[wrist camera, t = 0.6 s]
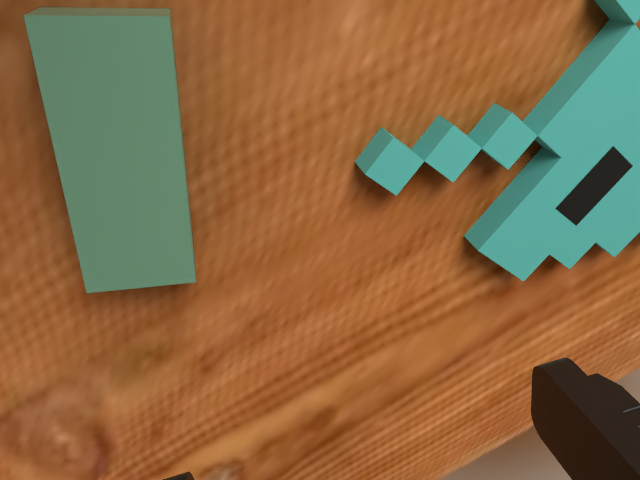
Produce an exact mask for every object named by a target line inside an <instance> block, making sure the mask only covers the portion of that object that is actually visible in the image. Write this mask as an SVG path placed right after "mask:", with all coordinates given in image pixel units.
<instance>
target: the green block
mask: <svg viewBox="0 0 640 480" xmlns="http://www.w3.org/2000/svg"><path fill="white" fill-rule="evenodd" d="M23 16H24V20H25V25H26V29H27V34H28V38H29V42H30V47H31V51H32V56H33V60H34V64H35V69H36V73H37V78H38V82H39V86H40V91H41V95H42V100H43V104H44V108H45V113H46V117H47V122H48V126H49V130H50V135H51V139H52V144H53V148H54V152H55V157H56V161H57V166H58V170H59V174H60V179H61V183H62V188H63V192H64V196H65V201H66V205H67V210H68V214H69V218H70V223H71V227H72V232H73V236H74V240H75V245H76V249H77V254H78V258H79V262H80V267H81V271H82V276H83V280H84V284H85V289H86V293H95V292H105V291H115V290H125V289H135V288H145V287H155V286H165V285H174V284H184V283H194V282H196V271H195V254H194V244H193V233H192V223H191V213H190V203H189V193H188V183H187V172H186V162H185V152H184V142H183V132H182V121H181V111H180V101H179V91H178V81H177V71H176V60H175V50H174V40H173V30H172V20H171V9H170V8H75V7H39V8H37V9H35V10H33V11H31V12H29V13H27V14H25V15H23Z"/></svg>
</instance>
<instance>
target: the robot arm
mask: <svg viewBox="0 0 640 480" xmlns="http://www.w3.org/2000/svg"><path fill="white" fill-rule="evenodd" d="M531 416H532V420H533V423H534V426H535V428H536V430H537V433H538V434H539V436H540V438H541V439H542V440H543V442H544V443H545V445H546V446H547V447H548V448H549V450H550V451H551V452H552V454H553V455H554V456H555V458H556V459H557V460H558V462H559V463H560V464H561V465H562V467H563V468H564V469H565V471H566V472H567V473H568V475H569V476H570V477H571V479H572V480H640V403H639V402H638V401H637V400H636V399H635V398H633V397H632V396H631V395H630V394H629V393H628V392H627V391H626V390H625V389H624V388H623V387H622V386H620V385H618V384H616V383H615V382H613V381H611V380H609V379H607V378H605V377H603V376H601V375H599V374H598V373H596V374H593V375H590V376H587V375H586V374H585V373H584V372H583V371H582V370H581V369H580V368H579V367H578V366H577V365H576V364H575V363H574V362H573V361H572V360H570V359H568V358H562V359H558V360H555V361H552V362H549V363H545V364H542V365H539V366H536V367H534V369H533V373H532V398H531ZM163 480H194V478H193V476H192V474H191V473H190V472H186V473H183V474H180V475H176V476H173V477H170V478H167V479H163Z"/></svg>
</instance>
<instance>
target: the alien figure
mask: <svg viewBox="0 0 640 480" xmlns="http://www.w3.org/2000/svg"><path fill="white" fill-rule="evenodd" d="M594 1H595V2H596V3H597V4H598V6H599V7H600V8H601V9H602V11H603V12H604V13H605V14H606V15H607V17H608V18H609V19H610V20H609V21H608V22H607V23H606V24H605V25H604V27H603V28H602V29H601V30H600V31H599V32H598V34H597V35H596V36H595V37H594V38H593V39H592V41H591V42H590V43H589V44H588V45H587V47H586V48H585V49H584V50H583V51H582V52H581V54H580V55H579V56H578V57H577V58H576V59H575V61H574V62H573V63H572V64H571V65H570V67H569V68H568V69H567V70H566V71H565V72H564V74H563V75H562V76H561V77H560V78H559V79H558V81H557V82H556V83H555V84H554V85H553V86H552V88H551V89H550V90H549V91H548V92H547V94H546V95H545V96H544V97H543V98H542V99H541V101H540V102H539V103H538V104H537V105H536V106H535V108H534V109H533V110H532V111H531V112H530V113H529V115H528V116H527V117H526V118H525V119H524V121H523V122H522V121H521V120H520V119H519V118H518V117H517V116H515V115H514V114H513V113H512V112H510V111H508V110H506V109H504V108H503V107H501V106H499V105H497V104H495V103H494V104H493V105H492V106H491V108H490V109H489V110H488V111H487V112H486V114H485V115H484V116H483V117H482V119H481V120H480V121H479V122H478V123H477V125H476V126H475V127H474V128H473V129H472V131H471V132H470V133H469V134H468V135H467V136H466V135H465V134H464V133H463V132H462V131H460V130H459V129H458V128H457V127H456V126H454V125H453V124H451V123H450V122H448V121H447V120H445V119H444V118H442V117H441V116H439V115H438V116H437V118H436V119H435V120H434V121H433V123H432V124H431V125H430V126H429V128H428V129H427V130H426V131H425V133H424V134H423V135H422V136H421V138H420V139H419V140H418V141H417V143H416V144H415V145H414V146H413V148H412V149H410V148H409V147H407V146H406V145H405V144H403V143H402V142H401V141H399V140H398V139H397V138H395V137H394V136H393V135H391V134H390V133H389V132H387V131H386V130H385V129H383V128H382V127H381V128H380V129H379V131H378V132H377V133H376V135H375V136H374V137H373V138H372V140H371V141H370V142H369V144H368V145H367V146H366V148H365V149H364V150H363V152H362V153H361V154H360V155H359V157H358V158H357V159H356V161H355V163H356V164H357V165H358V166H359V168H360V169H361V170H362V171H363V173H364V174H365V175H367V176H368V177H369V178H371V179H372V180H374V181H375V182H377V183H378V184H380V185H381V186H383V187H384V188H386V189H387V190H389V191H390V192H392V193H393V194H395V195H396V196H397V194H398V193H399V192H400V191H401V190H402V188H403V187H404V186H405V185H406V183H407V182H408V181H409V180H410V178H411V177H412V176H413V175H414V173H415V172H416V171H417V170H418V169H419V167H420V166H421V165H422V164H423V162H424V161H425V162H426V163H428V164H429V165H430V166H432V167H433V168H434V169H436V170H437V171H438V172H440V173H441V174H442V175H444V176H445V177H446V178H448V179H449V180H450V181H452V182H454V181H455V180H456V179H457V178H458V176H459V175H460V174H461V173H462V172H463V170H464V169H465V168H466V167H467V166H468V164H469V163H470V162H471V161H472V160H473V158H474V157H475V156H476V155H477V154H478V153H479V151H480V150H482V151H483V152H484V153H486V154H487V155H488V156H489V157H490V158H492V159H493V160H495V161H496V162H497V163H499V164H500V165H502V166H503V167H505V168H506V169H508V170H509V168H510V167H511V166H512V165H513V164H514V163H515V162H516V160H517V159H518V158H519V157H520V156H521V155H522V153H523V152H524V151H525V150H526V149H527V148H528V147H529V145H530V144H531V143H532V142H533V141H534V140H535V141H536V142H538V143H539V144H540V145H541V146H542V148H541V149H540V150H539V151H538V152H537V153H536V154H535V156H534V157H533V158H532V159H531V160H530V161H529V162H528V163H527V165H526V166H525V167H524V168H523V169H522V170H521V171H520V173H519V174H518V175H517V176H516V177H515V178H514V179H513V181H512V182H511V183H510V184H509V185H508V186H507V187H506V189H505V190H504V191H503V192H502V193H501V194H500V195H499V197H498V198H497V199H496V200H495V201H494V202H493V203H492V204H491V206H490V207H489V208H488V209H487V210H486V211H485V212H484V214H483V215H482V216H481V217H480V218H479V219H478V220H477V222H476V223H475V224H474V225H473V226H472V227H471V228H470V230H469V231H468V232H467V233H466V234H465V235H464V237H465V238H466V239H467V240H468V241H469V242H470V243H471V244H472V245H473V246H474V247H475V248H476V249H477V250H478V251H479V252H481V253H482V254H484V255H485V256H487V257H488V258H490V259H491V260H493V261H494V262H496V263H497V264H499V265H500V266H501V267H503V268H504V269H506V270H507V271H509V272H510V273H512V274H513V275H515V276H516V277H518V278H519V279H521V280H522V281H525V280H526V278H527V277H528V276H529V275H530V274H531V273H532V272H533V271H534V270H535V269H536V268H537V267H538V266H539V265H540V264H541V263H542V262H543V261H544V259H545V258H546V257H547V256H548V255H549V254H550V255H551V256H552V257H554V258H555V259H556V260H558V261H559V262H561V263H562V264H563V265H565V266H566V267H567V268H569V269H570V268H571V267H572V266H573V265H574V264H575V263H576V262H577V261H578V260H579V259H580V258H581V257H582V256H583V255H584V254H585V253H586V252H587V251H588V250H589V249H590V248H591V247H592V246H593V245H594V244H596V245H598V246H599V247H601V248H602V249H603V250H605V251H606V252H608V253H609V254H610V255H612V256H613V257H615V256H616V255H617V254H618V253H619V252H620V251H621V250H622V249H623V248H624V247H625V246H626V245H627V244H628V243H629V242H630V241H631V240H632V239H633V238H634V237H635V236H636V235H637V234H640V30H639V29H638V27H637V26H636V25H635V23H636V22H637V21H638V20H639V19H640V0H594Z"/></svg>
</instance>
